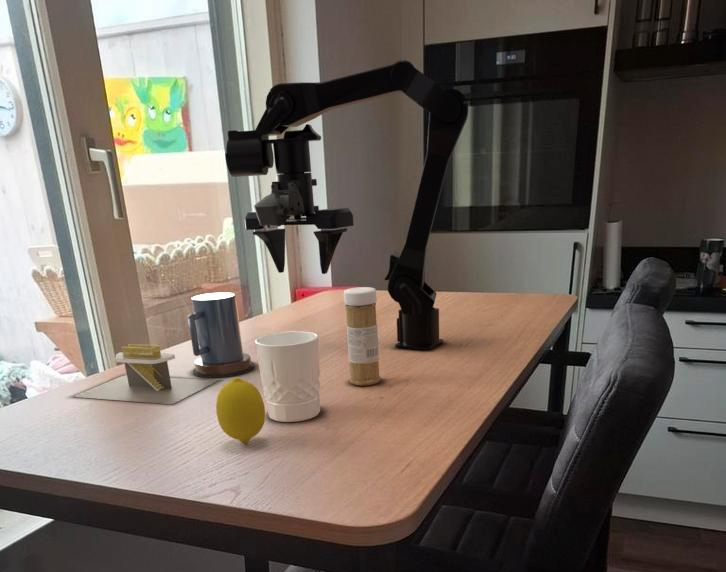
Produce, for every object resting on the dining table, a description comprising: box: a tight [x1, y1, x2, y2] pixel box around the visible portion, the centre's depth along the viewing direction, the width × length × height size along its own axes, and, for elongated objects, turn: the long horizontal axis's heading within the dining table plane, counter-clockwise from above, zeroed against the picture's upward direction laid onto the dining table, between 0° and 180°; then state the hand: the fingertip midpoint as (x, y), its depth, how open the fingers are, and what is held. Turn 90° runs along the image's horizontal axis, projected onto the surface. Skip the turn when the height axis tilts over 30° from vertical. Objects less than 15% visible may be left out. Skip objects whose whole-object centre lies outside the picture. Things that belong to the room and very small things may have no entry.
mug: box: [187, 292, 252, 375], centre depth 111 cm, size 11×9×12 cm
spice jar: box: [343, 286, 381, 386], centre depth 100 cm, size 5×5×13 cm
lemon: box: [215, 376, 266, 444], centre depth 81 cm, size 6×6×8 cm
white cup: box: [254, 330, 321, 423], centre depth 89 cm, size 8×8×10 cm
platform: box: [72, 343, 218, 405], centre depth 105 cm, size 12×18×7 cm, turn 68°
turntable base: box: [192, 361, 256, 379], centre depth 115 cm, size 10×10×1 cm
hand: (302, 273), depth 120 cm, fingers open, 9 cm apart
